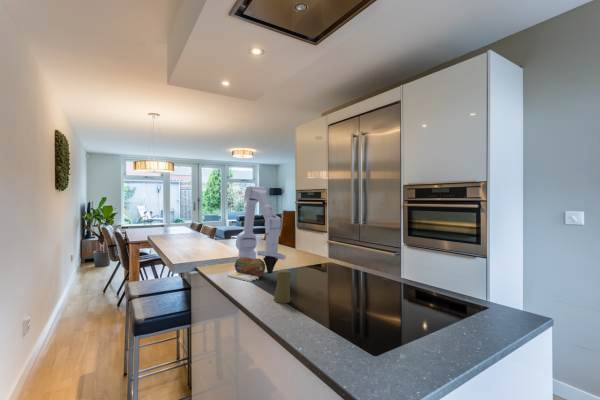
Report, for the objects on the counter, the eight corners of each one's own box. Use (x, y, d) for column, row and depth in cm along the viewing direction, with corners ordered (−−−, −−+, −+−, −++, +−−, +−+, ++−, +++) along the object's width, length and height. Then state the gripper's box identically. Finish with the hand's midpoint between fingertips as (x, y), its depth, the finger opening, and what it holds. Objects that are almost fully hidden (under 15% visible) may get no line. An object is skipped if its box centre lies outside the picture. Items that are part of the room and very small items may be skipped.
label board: (236, 274, 143) (237, 271, 143) (258, 279, 136) (258, 276, 136) (227, 276, 137) (227, 273, 137) (249, 281, 131) (249, 278, 131)
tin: (233, 273, 143) (235, 256, 143) (237, 272, 146) (238, 255, 146) (262, 278, 139) (264, 260, 139) (265, 276, 142) (266, 259, 142)
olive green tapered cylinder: (291, 298, 111) (293, 269, 111) (289, 304, 105) (291, 272, 105) (275, 297, 112) (277, 267, 112) (272, 302, 106) (274, 271, 106)
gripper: (253, 242, 137) (251, 271, 137) (280, 246, 130) (278, 277, 130) (263, 241, 143) (261, 269, 143) (288, 244, 136) (286, 274, 136)
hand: (269, 273), depth 137 cm, fingers closed
